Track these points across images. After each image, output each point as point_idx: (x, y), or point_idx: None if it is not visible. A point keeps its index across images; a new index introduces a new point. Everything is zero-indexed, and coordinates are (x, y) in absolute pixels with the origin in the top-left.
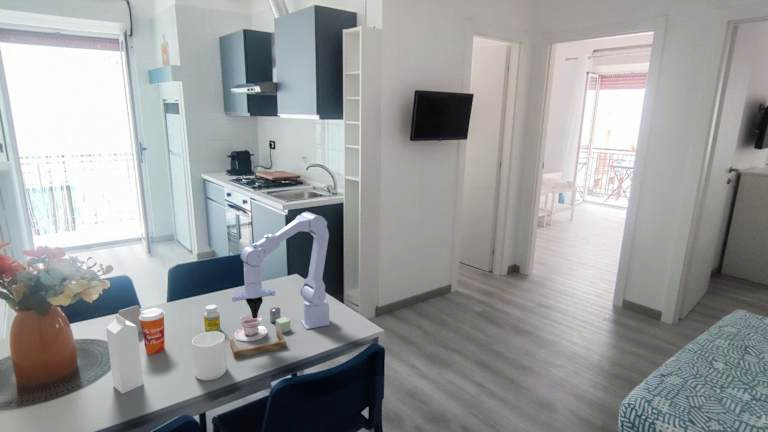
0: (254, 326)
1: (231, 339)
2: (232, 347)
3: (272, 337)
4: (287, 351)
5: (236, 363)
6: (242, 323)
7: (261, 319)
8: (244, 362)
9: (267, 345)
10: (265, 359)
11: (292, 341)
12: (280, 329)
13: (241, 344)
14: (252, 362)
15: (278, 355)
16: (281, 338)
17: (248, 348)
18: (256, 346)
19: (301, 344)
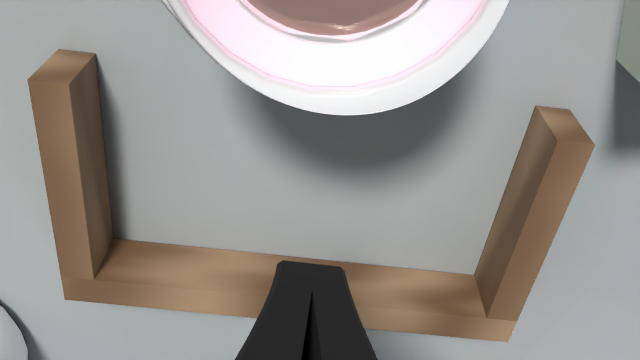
0: (343, 45)
1: (46, 88)
2: (55, 236)
3: (492, 102)
4: (471, 340)
5: (100, 312)
6: (170, 5)
7: (473, 53)
8: (155, 325)
9: None
10: None
11: (592, 248)
12: (634, 72)
13: (171, 78)
14: (206, 345)
15: (393, 352)
16: (503, 295)
17: (190, 306)
18: (260, 309)
19: (614, 312)
